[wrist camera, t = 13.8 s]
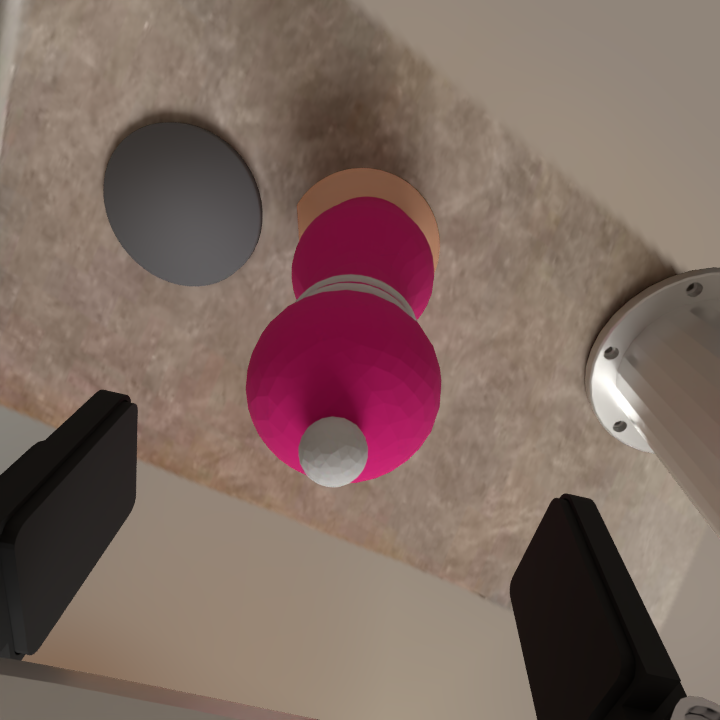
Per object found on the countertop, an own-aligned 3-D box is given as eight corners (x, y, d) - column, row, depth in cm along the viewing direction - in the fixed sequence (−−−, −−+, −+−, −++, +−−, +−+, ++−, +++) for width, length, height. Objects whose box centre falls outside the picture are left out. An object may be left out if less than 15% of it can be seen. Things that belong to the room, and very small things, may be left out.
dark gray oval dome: (97, 118, 28) (89, 118, 27) (258, 126, 27) (254, 126, 27) (124, 277, 32) (118, 281, 31) (265, 287, 31) (262, 291, 31)
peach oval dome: (457, 186, 29) (459, 189, 28) (416, 329, 33) (416, 334, 32) (302, 149, 28) (299, 150, 28) (279, 297, 33) (276, 302, 32)
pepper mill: (453, 260, 30) (542, 498, 12) (358, 330, 32) (317, 613, 15) (376, 158, 28) (347, 268, 10) (280, 241, 30) (118, 450, 12)
